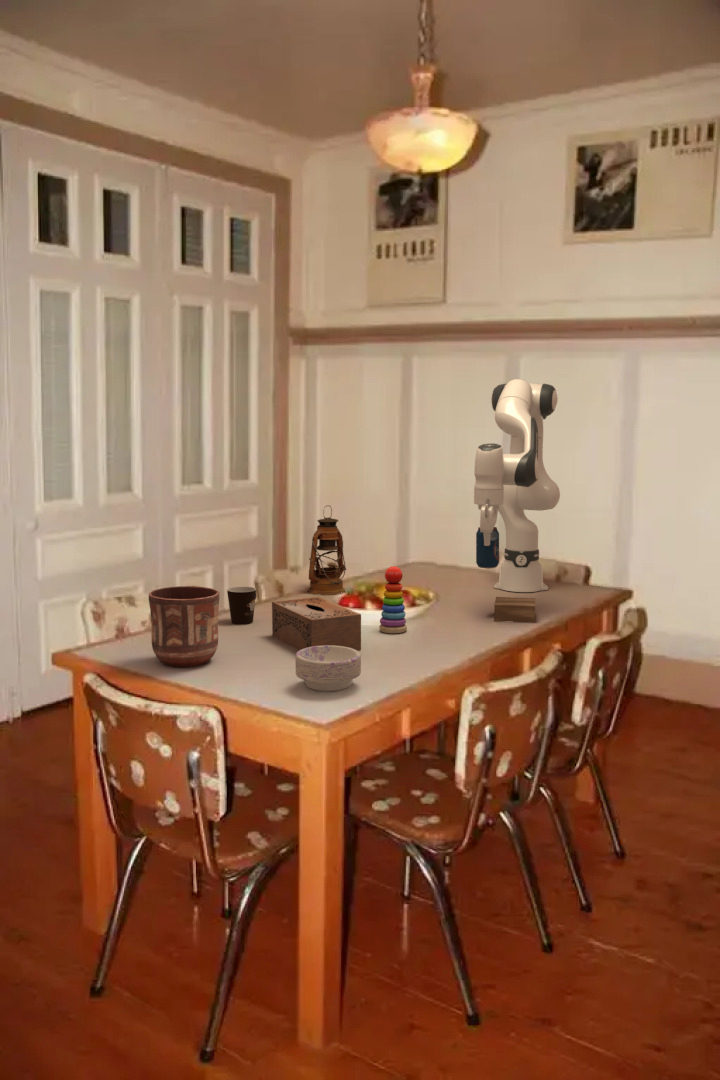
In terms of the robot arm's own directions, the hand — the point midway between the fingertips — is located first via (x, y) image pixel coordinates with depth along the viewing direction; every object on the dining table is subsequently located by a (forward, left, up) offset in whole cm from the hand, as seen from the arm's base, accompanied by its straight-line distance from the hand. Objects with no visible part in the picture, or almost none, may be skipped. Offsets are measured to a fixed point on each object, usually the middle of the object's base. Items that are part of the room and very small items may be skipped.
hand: (488, 543), depth 296 cm
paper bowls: (+80, -32, -23) cm, 90 cm away
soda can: (0, 0, -7) cm, 7 cm away
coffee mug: (+20, -70, -23) cm, 77 cm away
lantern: (-29, -57, -23) cm, 68 cm away
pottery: (+66, -72, -23) cm, 101 cm away
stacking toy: (+24, -25, -23) cm, 42 cm away
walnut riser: (0, +9, -23) cm, 24 cm away
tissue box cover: (+41, -45, -23) cm, 65 cm away
